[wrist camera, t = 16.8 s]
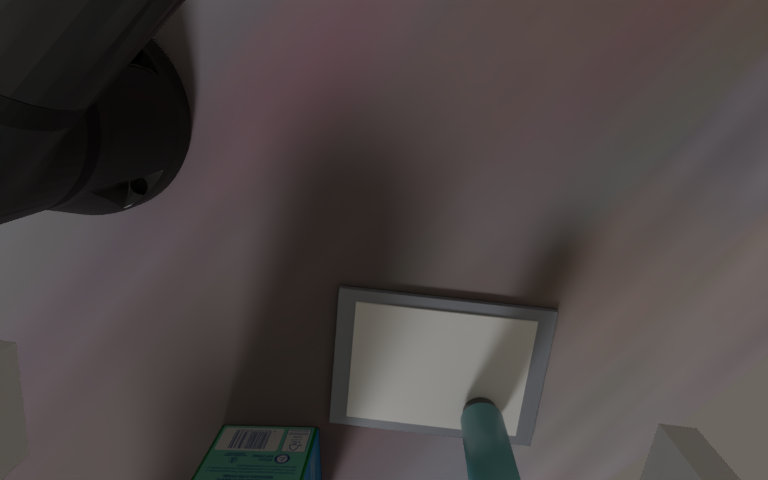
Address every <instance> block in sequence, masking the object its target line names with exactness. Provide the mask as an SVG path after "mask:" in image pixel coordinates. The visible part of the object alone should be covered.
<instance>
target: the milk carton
mask: <svg viewBox="0 0 768 480" xmlns="http://www.w3.org/2000/svg"><path fill="white" fill-rule="evenodd" d="M191 480H321V463H320V446H319V429H318V428H312V427H273V426H233V425H223V426H222V427H221V429H220V431H219V433H218V434H217V436H216V438H215V440H214V441H213V443H212V445H211V446H210V448H209V450H208V452H207V453H206V455H205V457H204V458H203V460H202V462H201V464H200V465H199V467H198V469H197V470H196V472H195V474H194V476H193V477H192V479H191Z"/></svg>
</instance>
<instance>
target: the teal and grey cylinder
mask: <svg viewBox="0 0 768 480" xmlns="http://www.w3.org/2000/svg"><path fill="white" fill-rule="evenodd" d="M460 423H461V430H462V437H463V444H464V451H465V458H466V465H467V472H468V479H469V480H520V476H519V473H518V469H517V466H516V462H515V458H514V455H513V451H512V448H511V444H510V440H509V437H508V433H507V430H506V426H505V423H504V419H503V415H502V413H501V412H500V410H499V409H498V408H497V407H496V405H495V404H494V403H493V402H492V401H491V400H489V399H487V398H483V397H478V398H474V399H471V400H470V401H468V402H467V403H466V404H465V406H464V408H463V413H462V415H461V420H460Z"/></svg>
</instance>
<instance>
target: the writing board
mask: <svg viewBox="0 0 768 480" xmlns="http://www.w3.org/2000/svg"><path fill="white" fill-rule="evenodd" d="M557 316H558V311H557V309H550V308H541V307H532V306H523V305H514V304H505V303H496V302H487V301H477V300H468V299H459V298H450V297H441V296H432V295H423V294H413V293H404V292H395V291H386V290H377V289H368V288H359V287H349V286H340V287H339V297H338V311H337V324H336V338H335V351H334V365H333V378H332V392H331V405H330V419H329V423H338V424H346V425H355V426H363V427H372V428H380V429H389V430H397V431H406V432H414V433H423V434H431V435H440V436H448V437H457V438H463V437H462V430H461V423H460V420H461V415H462V413H463V408H464V406H465V404H466V403H467V402H468V401H470V400H471V399H474V398H478V397H483V398H487V399H489V400H491V401H492V402H493V403H494V404H495V405H496V407H497V408H498V409H499V410H500V412H501V413H502V415H503V419H504V423H505V426H506V430H507V433H508V437H509V440H510V444H516V445H525V446H530V445H531V440H532V435H533V430H534V426H535V421H536V416H537V411H538V407H539V402H540V397H541V392H542V388H543V383H544V378H545V373H546V369H547V364H548V359H549V354H550V350H551V345H552V340H553V335H554V331H555V326H556V321H557Z"/></svg>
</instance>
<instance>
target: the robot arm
mask: <svg viewBox="0 0 768 480" xmlns="http://www.w3.org/2000/svg"><path fill="white" fill-rule="evenodd" d="M184 1H185V0H0V224H3V223H6V222H9V221H12V220H16V219H19V218H22V217H25V216H28V215H32V214H35V213H38V212H41V211H44V210H51V211H59V212H67V213H75V214H84V215H104V214H111V213H117V212H121V211H124V210H127V209H130V208H132V207H135V206H137V205H140V204H142V203H145V202H147V201H149V200H151V199H152V198H154V197H155V196H157V195H158V194H160V193H161V192H162V191H163V190H164V189H165V188H166V187H167V186H168V185H169V184H170V183H171V182H172V181H173V179H174V178H175V177H176V175H177V173H178V172H179V170H180V168H181V166H182V164H183V162H184V159H185V156H186V153H187V150H188V146H189V140H190V112H189V106H188V101H187V97H186V93H185V90H184V87H183V85H182V82H181V80H180V78H179V76H178V74H177V72H176V70H175V68H174V66H173V65H172V63H171V62H170V60H169V59H168V57H167V56H166V55H165V53H164V52H163V51H162V50H161V48H160V47H159V46H158V45H157V44H156V43H155V42H154V41H153V40H152V39H151V38H152V37H153V36H154V35H155V34H156V33H157V32H158V31H159V29H160V28H161V27H162V26H163V25H164V24H165V23H166V21H167V20H168V19H169V18H170V17H171V16H172V15H173V14H174V12H175V11H176V10H177V9H178V8H179V7H180V6H181V5H182V3H183V2H184ZM28 454H29V449H28V441H27V432H26V423H25V415H24V406H23V397H22V389H21V380H20V371H19V363H18V354H17V345H16V342H9V341H1V340H0V480H3V479H4V478H5V477H6V476H7V475H8V474H9V473H10V472H11V471H12V470H13V469H14V468H15V467H16V466H17V465H18V464H19V463H20V462H21V461H22V460H23V459H24V458H25V457H26V456H27V455H28ZM640 480H740V479H739V477H738V476H737V475H736V474H735V473H734V472H733V470H732V469H731V468H730V467H729V466H728V464H727V463H726V462H725V461H724V460H723V459H722V457H720V455H719V454H718V453H717V452H716V451H715V449H714V448H713V447H712V446H711V445H710V444H709V442H708V441H707V440H706V439H705V438H704V437H703V435H702V434H701V433H700V432H699V431H698V430H697V429H696V428H688V427H681V426H673V425H665V424H659V425H658V428H657V431H656V434H655V437H654V440H653V443H652V446H651V449H650V452H649V454H648V458H647V461H646V463H645V466H644V469H643V472H642V475H641V478H640Z"/></svg>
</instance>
